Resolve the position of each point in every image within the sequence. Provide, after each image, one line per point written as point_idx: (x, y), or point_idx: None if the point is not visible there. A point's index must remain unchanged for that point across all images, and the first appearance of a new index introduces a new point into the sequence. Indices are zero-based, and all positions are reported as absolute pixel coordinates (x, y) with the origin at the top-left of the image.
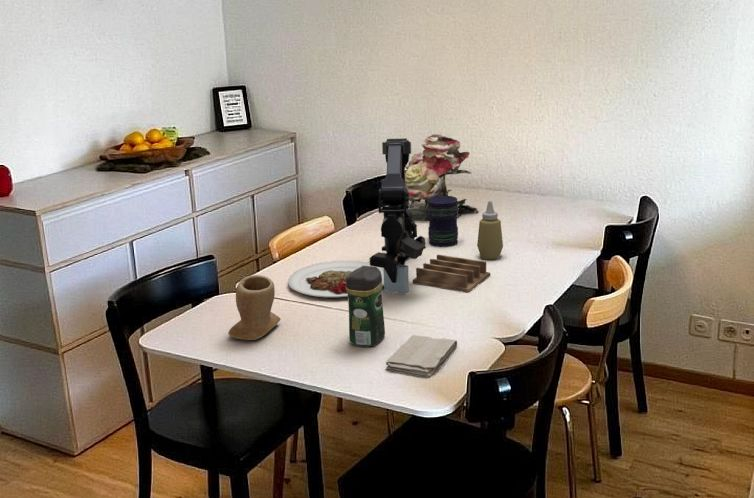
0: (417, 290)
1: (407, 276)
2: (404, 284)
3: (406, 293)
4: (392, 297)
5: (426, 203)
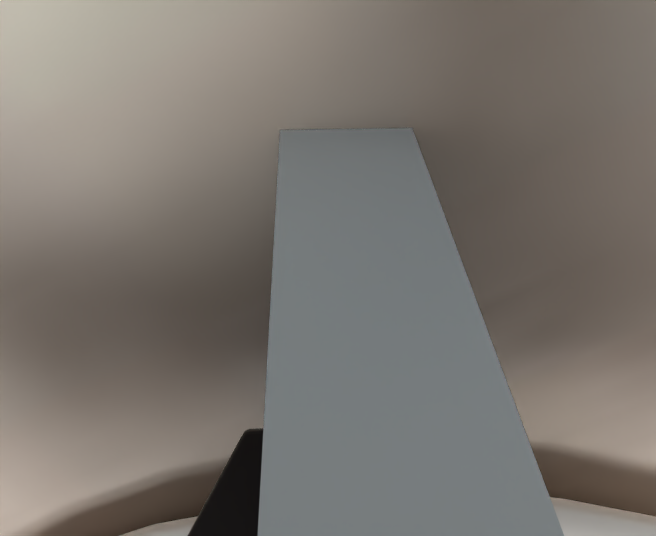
0: (121, 18)
1: (339, 360)
2: (452, 250)
3: (380, 129)
4: (609, 240)
5: None
